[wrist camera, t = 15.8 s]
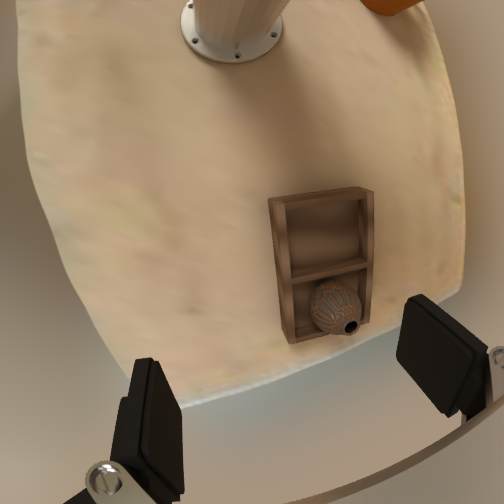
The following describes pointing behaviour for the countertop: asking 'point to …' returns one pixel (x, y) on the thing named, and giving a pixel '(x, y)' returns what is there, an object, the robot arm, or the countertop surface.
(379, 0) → the mug
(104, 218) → the countertop surface
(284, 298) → the divided wooden tray
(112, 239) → the countertop surface
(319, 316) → the vase
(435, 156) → the countertop surface
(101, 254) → the countertop surface
